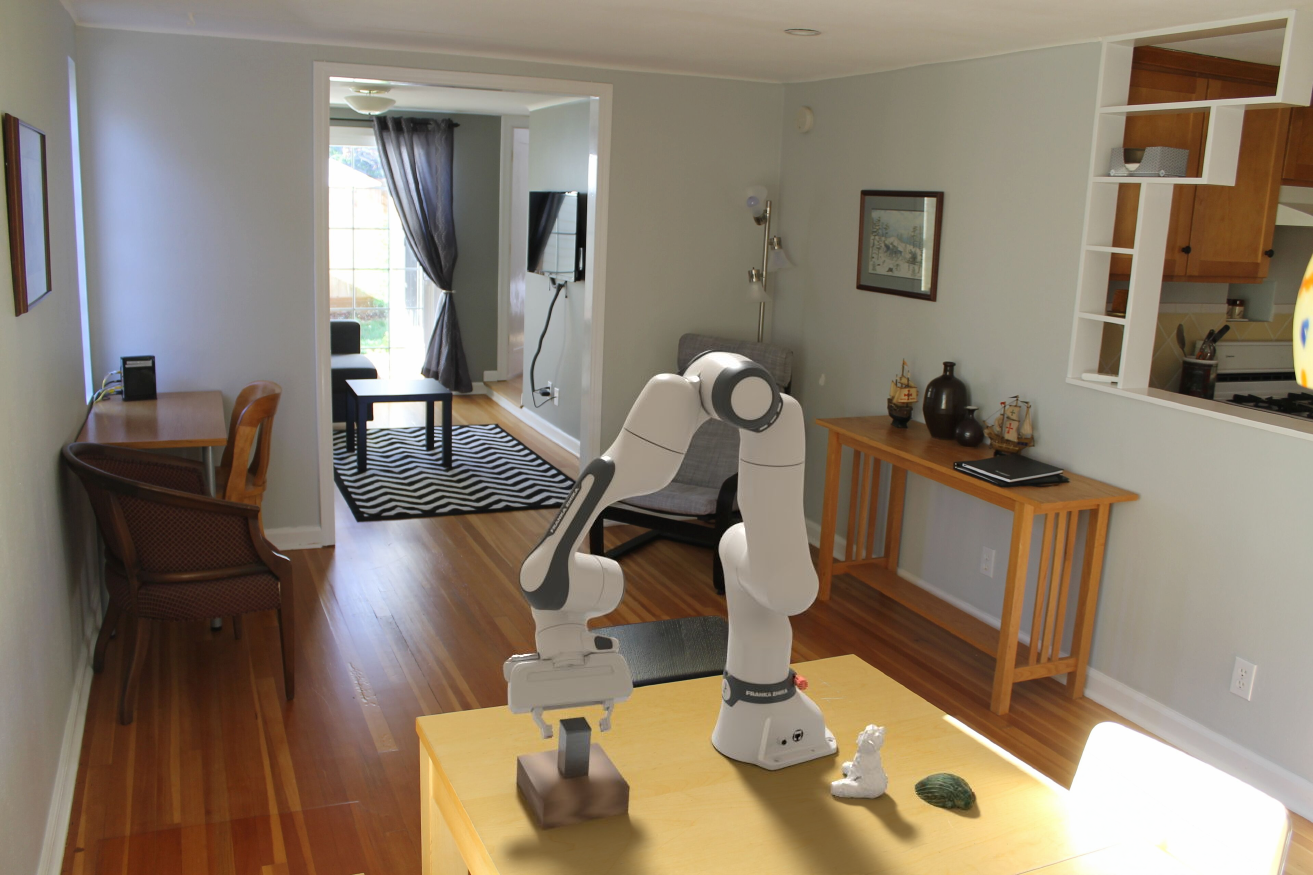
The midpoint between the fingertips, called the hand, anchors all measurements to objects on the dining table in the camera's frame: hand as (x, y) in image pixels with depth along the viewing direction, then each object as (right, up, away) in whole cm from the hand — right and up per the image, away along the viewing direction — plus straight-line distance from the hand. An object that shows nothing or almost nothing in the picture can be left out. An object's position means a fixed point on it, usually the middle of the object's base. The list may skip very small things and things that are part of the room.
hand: (577, 734), depth 159 cm
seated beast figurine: (+47, -12, +9) cm, 49 cm away
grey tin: (-1, -6, +1) cm, 6 cm away
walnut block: (-1, -11, +2) cm, 11 cm away
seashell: (+61, -13, +9) cm, 63 cm away
